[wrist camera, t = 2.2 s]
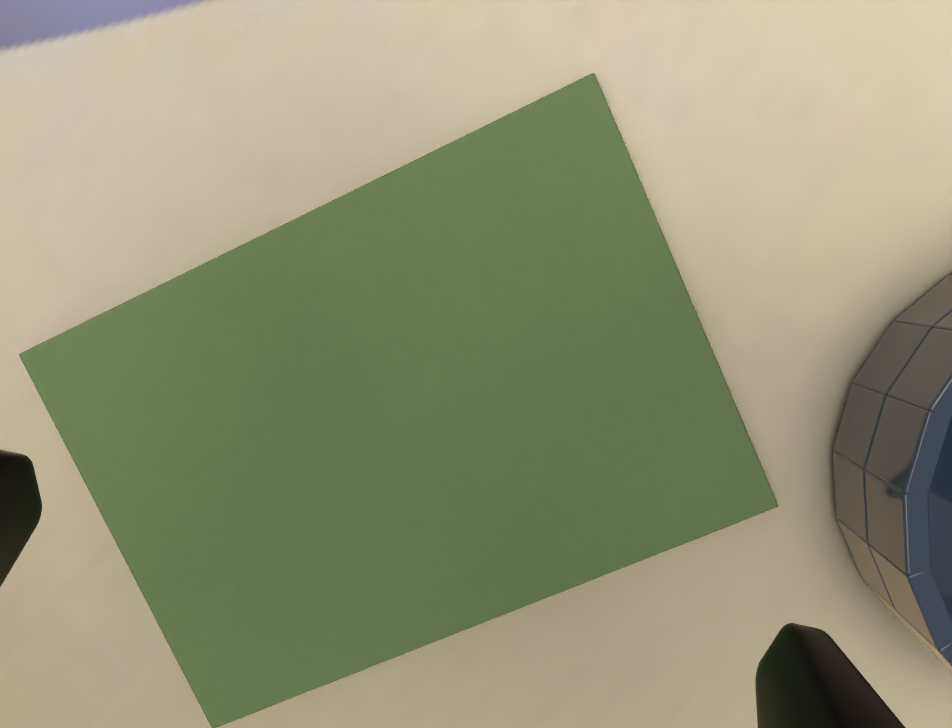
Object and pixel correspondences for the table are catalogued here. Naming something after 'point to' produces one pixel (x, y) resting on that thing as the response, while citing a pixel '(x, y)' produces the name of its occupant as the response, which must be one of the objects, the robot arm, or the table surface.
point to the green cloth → (405, 411)
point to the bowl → (903, 470)
